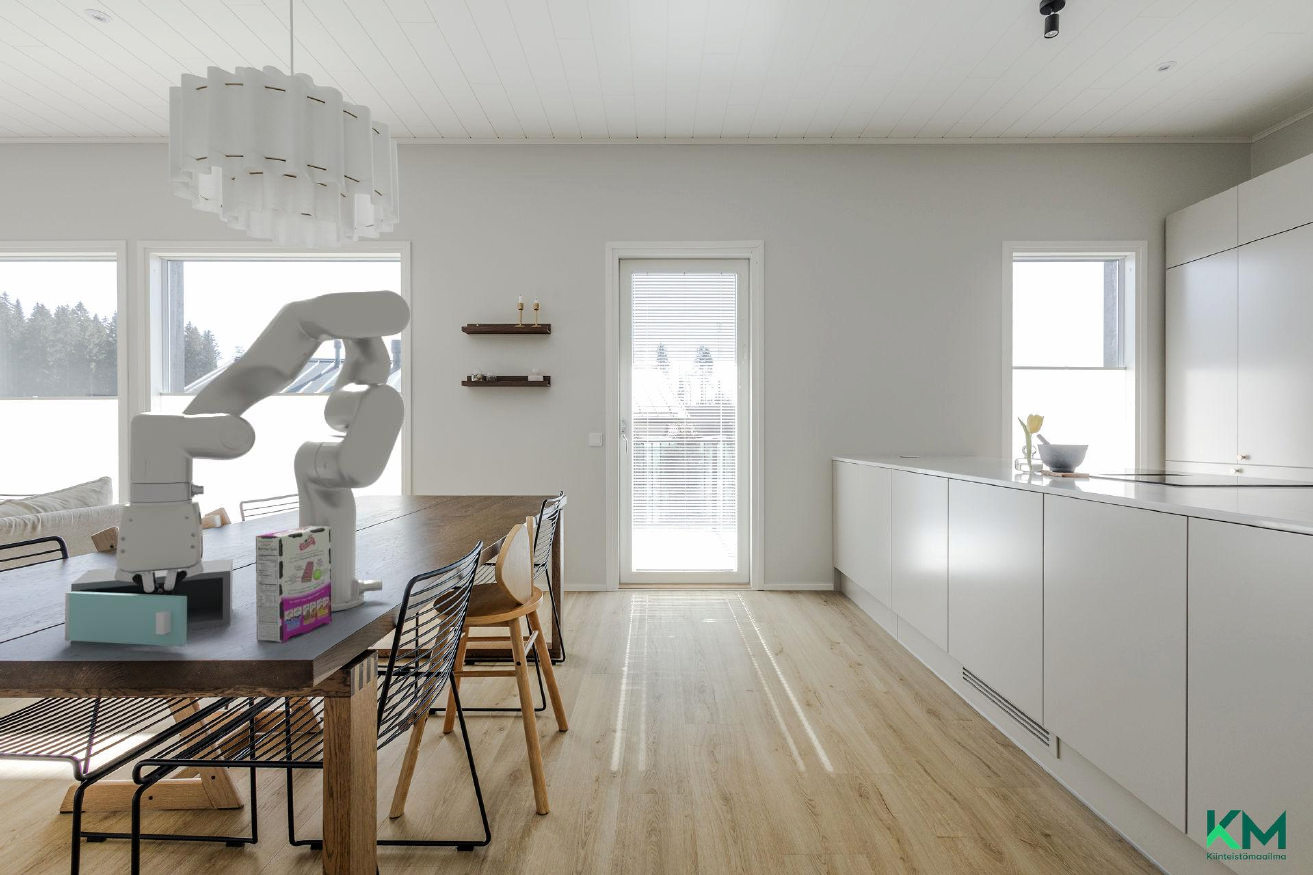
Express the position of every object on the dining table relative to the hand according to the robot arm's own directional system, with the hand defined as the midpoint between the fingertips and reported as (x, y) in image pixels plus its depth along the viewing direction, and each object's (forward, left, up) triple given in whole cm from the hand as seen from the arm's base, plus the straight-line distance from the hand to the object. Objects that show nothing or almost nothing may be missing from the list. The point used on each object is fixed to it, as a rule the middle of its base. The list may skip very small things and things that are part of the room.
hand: (160, 615), depth 98 cm
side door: (+4, +1, -3) cm, 6 cm away
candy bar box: (-18, +3, -4) cm, 18 cm away
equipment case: (+1, -13, -4) cm, 14 cm away
